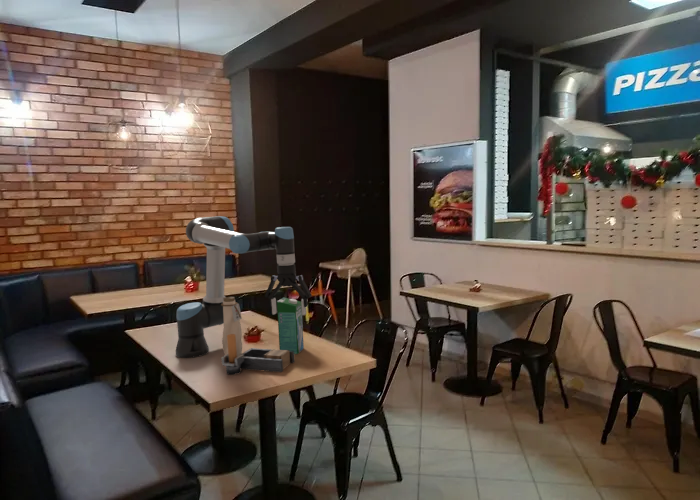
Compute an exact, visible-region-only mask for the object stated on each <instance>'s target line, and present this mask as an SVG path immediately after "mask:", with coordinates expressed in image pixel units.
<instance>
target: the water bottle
mask: <svg viewBox="0 0 700 500" xmlns="http://www.w3.org/2000/svg"><path fill="white" fill-rule="evenodd" d="M223 299H224V301H223V303H222V304H221V305H222V306H223V316H224V323H223V329H222V330H223V331H222V338H221V345H222V349H223V352H224V356H225V355H227V354H228V341H227V335H229V334H235V336H236V350H237V356H239V355H241V354H242V353H243V341H242V339H243V338H242V334H243V333H242V325H241V320H242V319H243V318H242V312H241V308H240V303H238V302H236V299H235V296H225V298H223Z"/></svg>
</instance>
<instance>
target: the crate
mask: <svg viewBox="0 0 700 500" xmlns="http://www.w3.org/2000/svg"><path fill="white" fill-rule="evenodd" d="M264 358H270V359H282V360H283V370H284V369H286V367H288V366H290V364H291V363H290V353H289V350H280V349H276V348H272V350H271V351H269V352H268V353H266V354H265V355H264Z"/></svg>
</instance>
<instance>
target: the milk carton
mask: <svg viewBox="0 0 700 500" xmlns="http://www.w3.org/2000/svg"><path fill="white" fill-rule="evenodd" d="M276 310H277V325H278V329H277V330H278V344H279V345H278V346H279V349H278V350H289V351H294V355H299V354H300V353H301V352H302V351H303V349H304V348H305V347H304V327H303V326H304V325H303V323H304V322H303V315H302V303H301V301H299V300H297V299H295V298H288V297H282V298H280V299H279V300H276Z"/></svg>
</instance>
